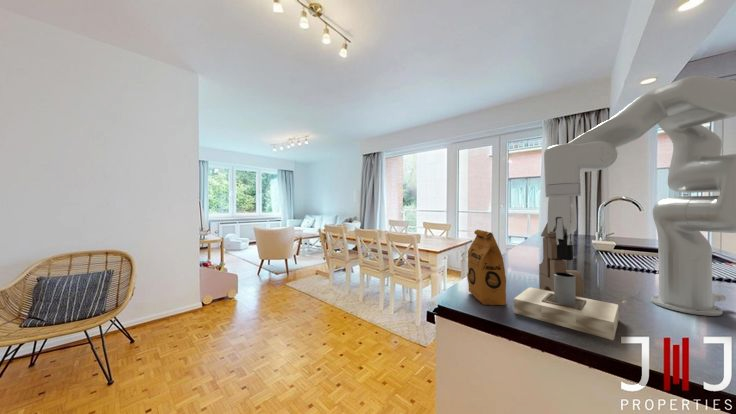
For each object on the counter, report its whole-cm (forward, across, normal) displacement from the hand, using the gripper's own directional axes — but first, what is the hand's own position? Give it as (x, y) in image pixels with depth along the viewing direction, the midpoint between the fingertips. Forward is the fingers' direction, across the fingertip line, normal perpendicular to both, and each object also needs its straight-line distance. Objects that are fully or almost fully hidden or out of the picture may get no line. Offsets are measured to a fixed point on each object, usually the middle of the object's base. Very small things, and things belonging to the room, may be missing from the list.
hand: (565, 259), depth 67 cm
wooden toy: (+16, -16, -5) cm, 23 cm away
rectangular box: (+15, +1, 0) cm, 15 cm away
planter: (+14, 0, 0) cm, 15 cm away
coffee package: (+15, +2, -20) cm, 26 cm away
